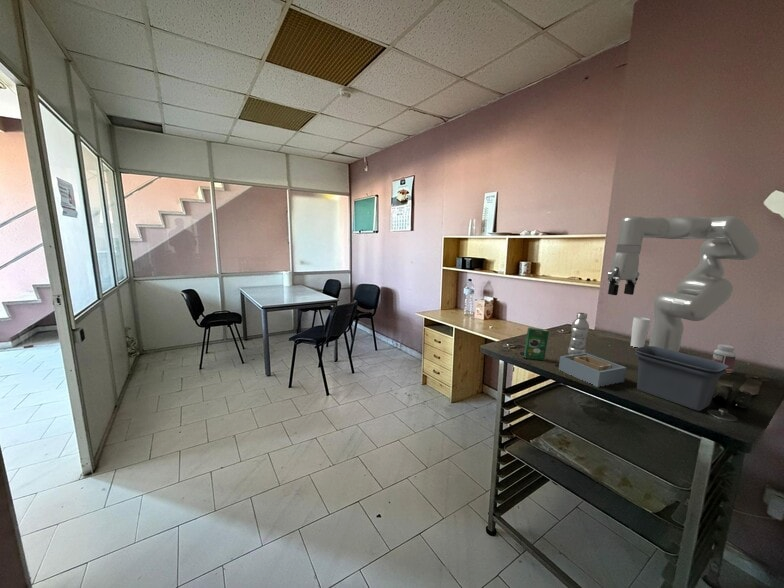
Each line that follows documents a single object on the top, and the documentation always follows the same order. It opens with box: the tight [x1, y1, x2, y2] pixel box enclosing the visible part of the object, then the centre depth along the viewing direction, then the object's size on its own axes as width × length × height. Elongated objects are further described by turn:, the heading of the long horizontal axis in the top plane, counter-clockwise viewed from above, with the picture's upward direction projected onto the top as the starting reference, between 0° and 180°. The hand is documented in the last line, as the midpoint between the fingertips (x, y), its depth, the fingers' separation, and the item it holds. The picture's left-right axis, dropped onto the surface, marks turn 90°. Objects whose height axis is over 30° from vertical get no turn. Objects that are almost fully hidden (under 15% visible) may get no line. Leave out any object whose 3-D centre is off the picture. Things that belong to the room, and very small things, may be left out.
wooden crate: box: [573, 355, 612, 371], centre depth 118 cm, size 7×10×5 cm
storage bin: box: [634, 345, 729, 412], centre depth 103 cm, size 21×16×14 cm
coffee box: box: [523, 327, 549, 361], centre depth 133 cm, size 8×3×13 cm, turn 80°
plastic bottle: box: [567, 312, 590, 355], centre depth 135 cm, size 6×7×20 cm
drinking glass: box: [630, 316, 652, 348], centre depth 156 cm, size 7×7×15 cm
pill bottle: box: [711, 343, 737, 373], centre depth 128 cm, size 6×6×11 cm
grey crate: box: [558, 352, 627, 388], centre depth 118 cm, size 15×16×6 cm
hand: (620, 294), depth 122 cm, fingers open, 9 cm apart
